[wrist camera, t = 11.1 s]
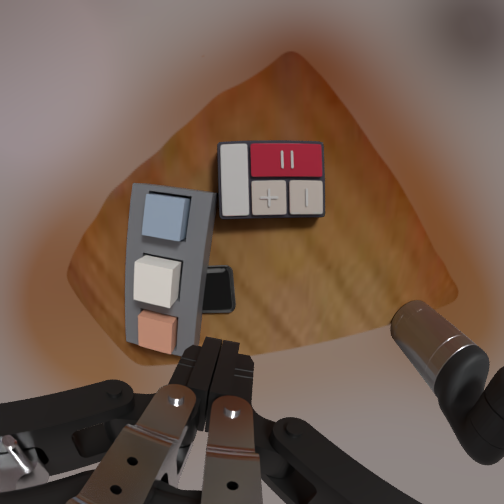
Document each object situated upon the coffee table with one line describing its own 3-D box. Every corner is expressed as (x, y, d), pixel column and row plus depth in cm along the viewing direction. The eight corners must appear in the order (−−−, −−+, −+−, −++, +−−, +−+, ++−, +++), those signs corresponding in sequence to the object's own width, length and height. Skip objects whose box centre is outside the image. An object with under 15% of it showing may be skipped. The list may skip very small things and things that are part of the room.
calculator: (326, 217, 37) (218, 220, 37) (319, 215, 42) (221, 217, 42) (325, 140, 35) (216, 140, 35) (317, 145, 39) (219, 146, 39)
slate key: (192, 198, 38) (184, 199, 34) (187, 236, 39) (179, 241, 35) (156, 193, 38) (146, 193, 34) (152, 230, 39) (141, 234, 35)
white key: (181, 262, 38) (172, 269, 34) (177, 297, 39) (169, 308, 36) (146, 255, 38) (134, 261, 34) (144, 290, 40) (133, 299, 36)
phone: (142, 269, 43) (231, 266, 42) (145, 267, 44) (232, 264, 43) (150, 313, 45) (235, 313, 44) (153, 310, 46) (236, 310, 45)
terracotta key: (179, 313, 42) (172, 324, 38) (177, 342, 43) (170, 354, 39) (147, 305, 42) (138, 315, 38) (147, 334, 43) (138, 345, 39)
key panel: (218, 193, 41) (212, 193, 36) (199, 343, 46) (192, 358, 41) (146, 183, 41) (132, 183, 36) (137, 328, 46) (126, 341, 41)
